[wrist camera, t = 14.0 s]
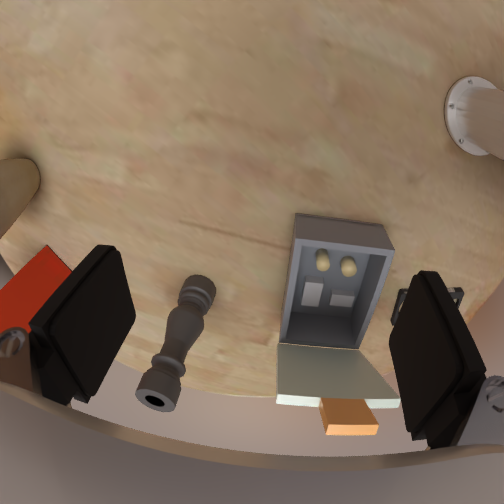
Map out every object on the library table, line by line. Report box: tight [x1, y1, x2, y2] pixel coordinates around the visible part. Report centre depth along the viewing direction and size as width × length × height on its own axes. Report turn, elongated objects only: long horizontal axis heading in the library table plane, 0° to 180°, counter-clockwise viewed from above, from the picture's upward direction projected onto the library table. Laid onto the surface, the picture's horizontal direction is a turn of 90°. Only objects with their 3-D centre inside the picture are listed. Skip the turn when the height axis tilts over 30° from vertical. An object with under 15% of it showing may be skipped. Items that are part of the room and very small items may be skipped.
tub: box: [279, 213, 395, 349], centre depth 48 cm, size 14×20×8 cm
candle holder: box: [135, 275, 216, 412], centre depth 47 cm, size 6×6×25 cm
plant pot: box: [0, 159, 40, 239], centre depth 42 cm, size 15×15×16 cm
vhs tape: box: [391, 287, 464, 326], centre depth 52 cm, size 14×8×2 cm, turn 93°
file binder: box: [0, 246, 71, 334], centre depth 48 cm, size 8×17×32 cm, turn 40°
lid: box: [276, 343, 401, 435], centre depth 37 cm, size 14×26×2 cm
